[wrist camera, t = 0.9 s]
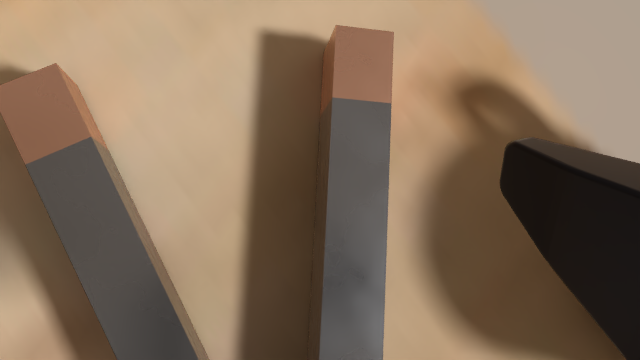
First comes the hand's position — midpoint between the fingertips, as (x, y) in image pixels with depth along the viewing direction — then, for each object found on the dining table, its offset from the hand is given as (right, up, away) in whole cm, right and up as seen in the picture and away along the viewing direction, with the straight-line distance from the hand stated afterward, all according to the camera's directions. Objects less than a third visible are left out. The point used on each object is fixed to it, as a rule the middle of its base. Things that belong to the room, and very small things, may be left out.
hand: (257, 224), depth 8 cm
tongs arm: (-6, -3, +13) cm, 15 cm away
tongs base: (0, -5, +14) cm, 15 cm away
